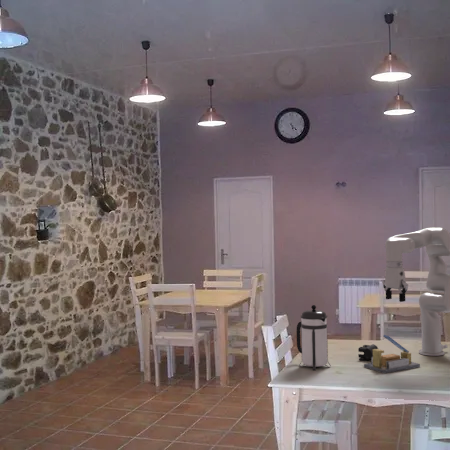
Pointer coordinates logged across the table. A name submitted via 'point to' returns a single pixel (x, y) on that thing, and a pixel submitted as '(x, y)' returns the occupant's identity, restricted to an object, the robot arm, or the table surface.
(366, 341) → the table surface
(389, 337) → the strap
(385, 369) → the block
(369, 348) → the end cap
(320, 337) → the coffee press
